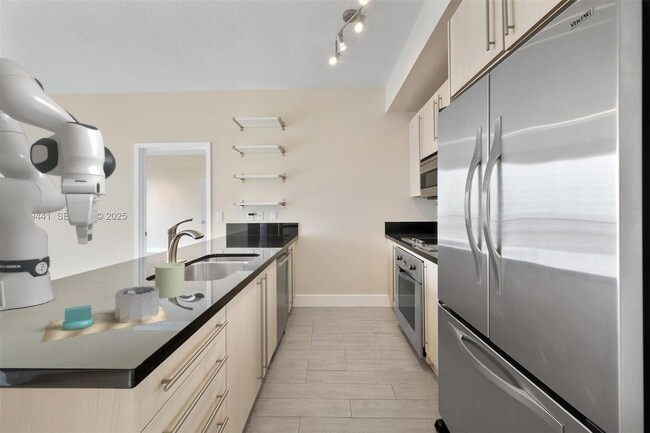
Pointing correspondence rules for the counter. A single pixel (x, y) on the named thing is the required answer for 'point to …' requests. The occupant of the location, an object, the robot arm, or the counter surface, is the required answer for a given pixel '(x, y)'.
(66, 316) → the teal disc with post
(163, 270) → the can
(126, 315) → the white thick faceted ring
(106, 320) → the base plate
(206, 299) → the counter surface
